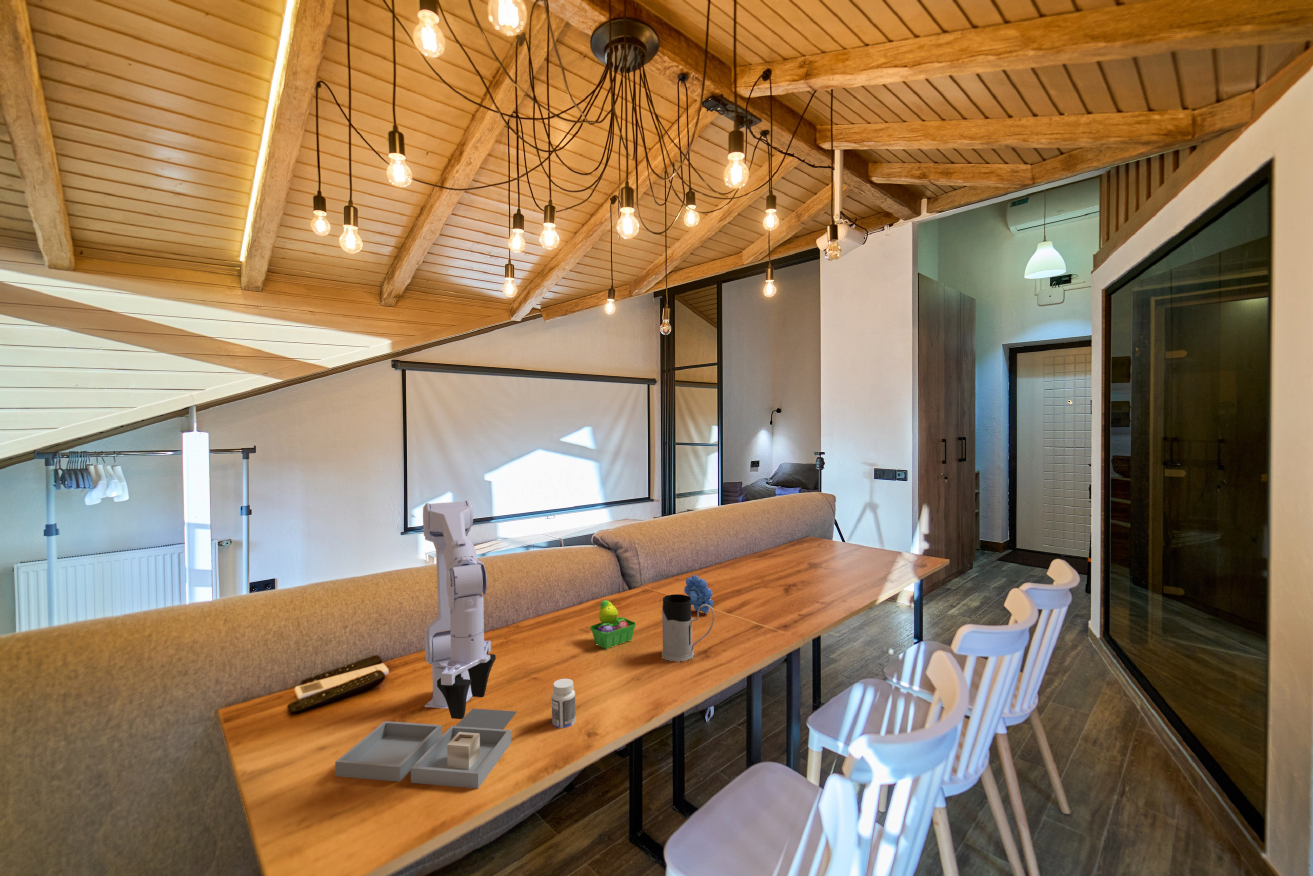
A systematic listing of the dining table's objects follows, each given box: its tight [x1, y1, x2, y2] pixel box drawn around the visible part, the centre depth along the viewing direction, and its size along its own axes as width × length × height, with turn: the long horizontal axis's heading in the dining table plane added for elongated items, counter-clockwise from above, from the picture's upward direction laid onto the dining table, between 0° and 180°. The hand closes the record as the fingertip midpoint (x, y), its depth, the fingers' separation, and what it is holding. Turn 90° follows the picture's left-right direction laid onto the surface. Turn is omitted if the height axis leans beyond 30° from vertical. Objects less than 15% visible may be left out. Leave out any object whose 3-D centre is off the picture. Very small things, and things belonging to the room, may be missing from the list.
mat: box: [455, 708, 518, 730], centre depth 107 cm, size 10×10×1 cm
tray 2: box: [410, 725, 512, 790], centre depth 94 cm, size 13×12×3 cm
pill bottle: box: [551, 678, 577, 729], centre depth 107 cm, size 5×5×8 cm
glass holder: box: [660, 593, 715, 663], centre depth 140 cm, size 9×14×15 cm, turn 78°
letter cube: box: [447, 732, 480, 769], centre depth 94 cm, size 4×4×4 cm
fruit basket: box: [589, 599, 637, 650], centre depth 150 cm, size 11×9×11 cm
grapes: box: [683, 574, 714, 614], centre depth 173 cm, size 12×7×12 cm, turn 48°
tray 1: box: [334, 720, 443, 782], centre depth 96 cm, size 13×12×3 cm
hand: (468, 706), depth 96 cm, fingers open, 7 cm apart
